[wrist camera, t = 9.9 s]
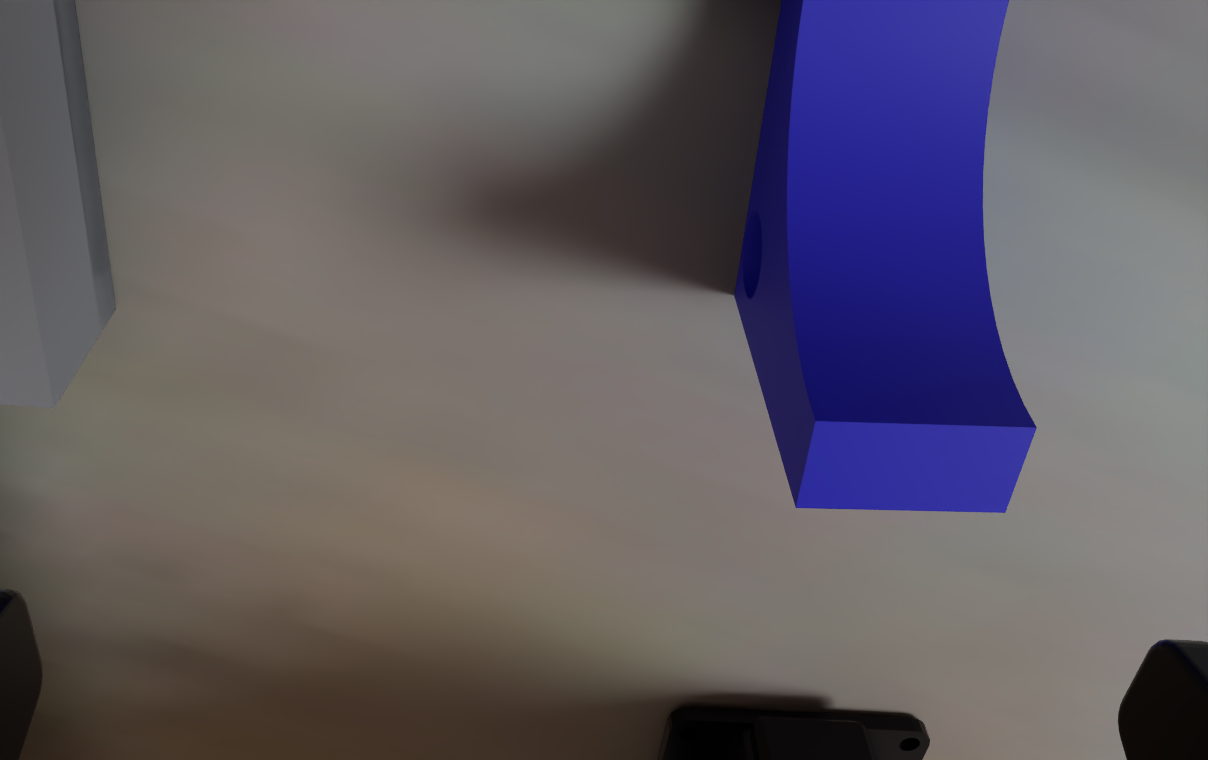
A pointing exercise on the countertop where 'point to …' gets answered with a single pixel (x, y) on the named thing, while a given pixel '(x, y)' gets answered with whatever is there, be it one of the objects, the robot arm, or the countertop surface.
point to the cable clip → (880, 260)
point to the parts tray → (47, 206)
